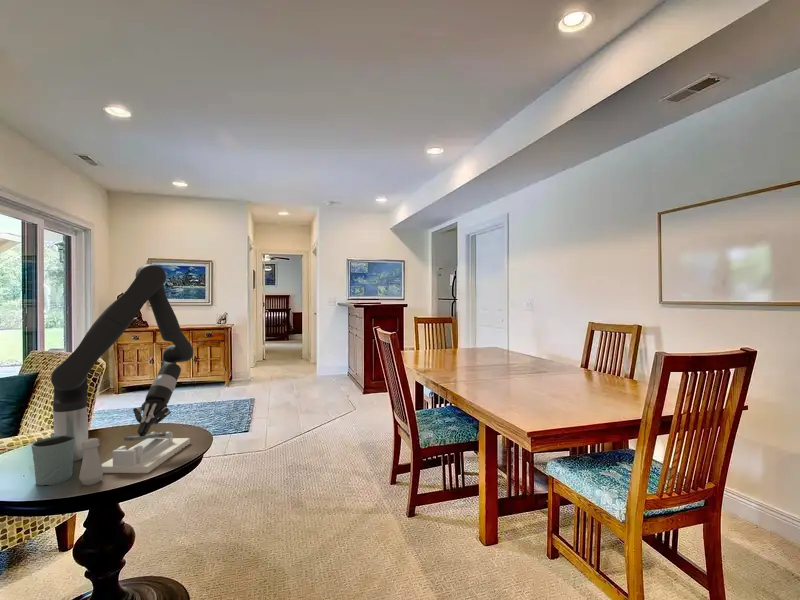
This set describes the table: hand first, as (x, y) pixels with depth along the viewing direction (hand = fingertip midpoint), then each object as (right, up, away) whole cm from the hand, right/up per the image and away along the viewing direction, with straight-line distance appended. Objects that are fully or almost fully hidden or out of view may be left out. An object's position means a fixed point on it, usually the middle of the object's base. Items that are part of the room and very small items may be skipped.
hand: (141, 434), depth 140 cm
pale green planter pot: (-18, -10, -13) cm, 24 cm away
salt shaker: (-5, -10, -16) cm, 19 cm away
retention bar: (0, -2, +3) cm, 3 cm away
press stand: (0, -9, +3) cm, 9 cm away
